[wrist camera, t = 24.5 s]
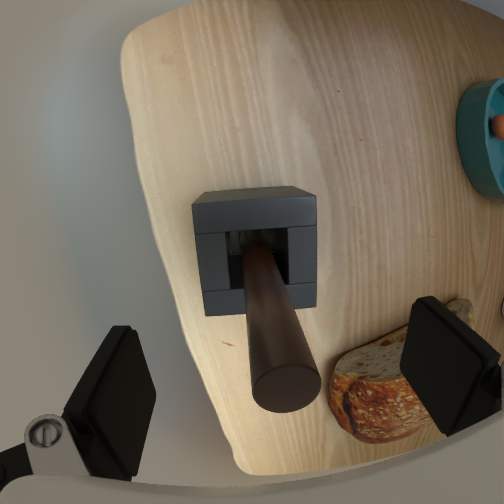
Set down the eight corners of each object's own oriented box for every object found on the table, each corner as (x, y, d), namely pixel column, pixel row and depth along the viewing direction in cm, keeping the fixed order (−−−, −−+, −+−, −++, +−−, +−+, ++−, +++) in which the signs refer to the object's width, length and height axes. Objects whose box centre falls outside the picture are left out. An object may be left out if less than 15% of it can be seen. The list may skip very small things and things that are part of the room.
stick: (239, 225, 27) (248, 369, 8) (263, 223, 27) (322, 358, 8) (241, 249, 28) (255, 417, 9) (265, 246, 28) (320, 407, 9)
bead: (484, 115, 24) (500, 110, 23) (489, 139, 26) (505, 133, 25) (499, 120, 22) (515, 114, 21) (504, 146, 23) (520, 139, 22)
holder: (204, 192, 26) (191, 203, 19) (293, 185, 27) (316, 195, 19) (212, 276, 29) (205, 316, 21) (296, 269, 29) (316, 307, 21)
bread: (461, 289, 31) (511, 325, 21) (449, 386, 36) (479, 425, 27) (315, 345, 32) (341, 408, 22) (331, 435, 37) (349, 488, 27)
